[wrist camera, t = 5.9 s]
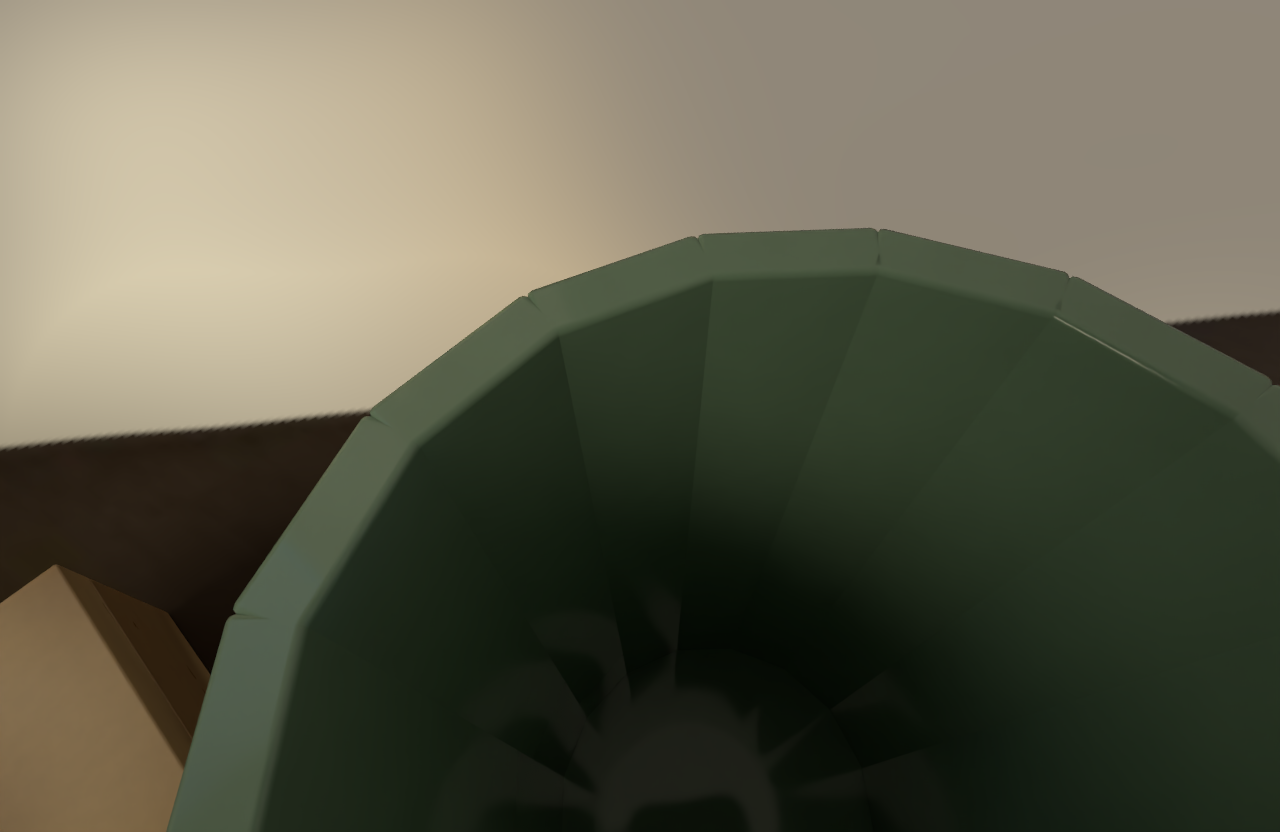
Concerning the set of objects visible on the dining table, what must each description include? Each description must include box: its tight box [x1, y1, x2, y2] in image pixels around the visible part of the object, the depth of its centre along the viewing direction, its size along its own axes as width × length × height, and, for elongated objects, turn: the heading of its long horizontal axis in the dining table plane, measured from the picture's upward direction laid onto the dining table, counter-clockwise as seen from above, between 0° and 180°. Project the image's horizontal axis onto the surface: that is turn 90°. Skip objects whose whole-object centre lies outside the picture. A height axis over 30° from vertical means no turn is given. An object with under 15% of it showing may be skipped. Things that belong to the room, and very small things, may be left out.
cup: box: [166, 228, 1280, 832], centre depth 9 cm, size 7×7×12 cm
